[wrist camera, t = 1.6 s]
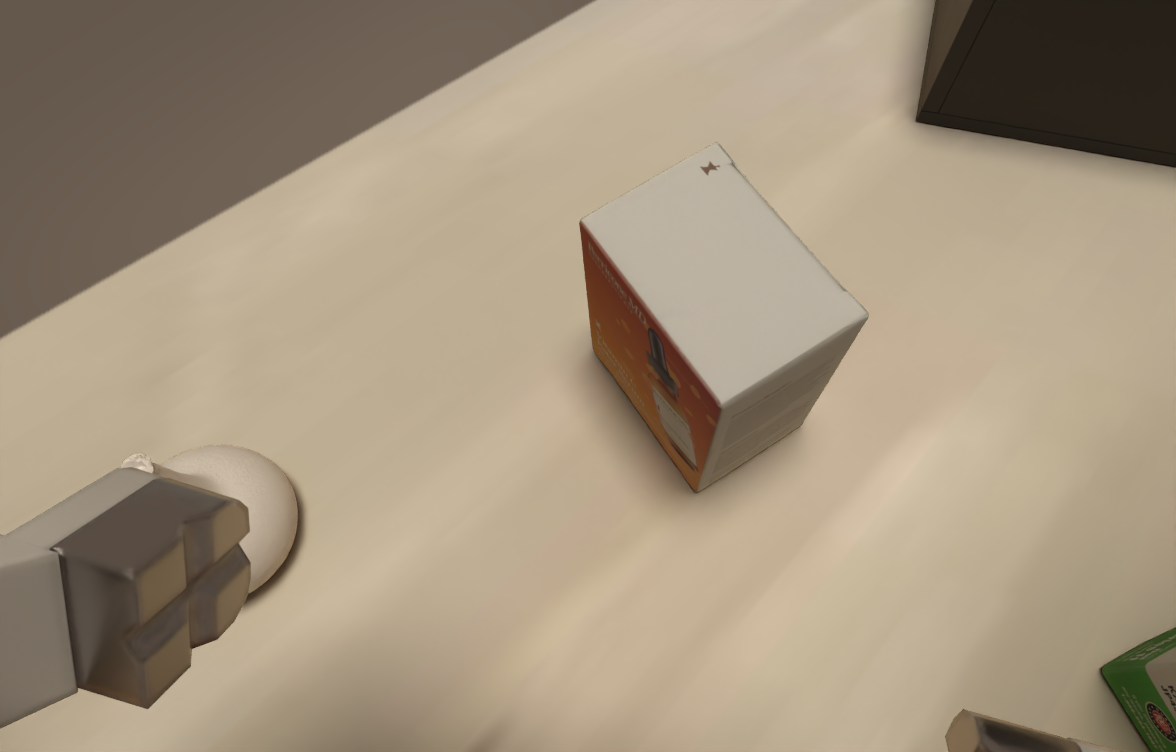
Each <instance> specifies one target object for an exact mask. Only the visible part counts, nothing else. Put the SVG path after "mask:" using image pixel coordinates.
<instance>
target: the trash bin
mask: <svg viewBox="0 0 1176 752" xmlns="http://www.w3.org/2000/svg"><path fill="white" fill-rule="evenodd" d="M916 121H918V122H923V123H929V124H935V125H941V126H946V127H952V128H958V129H964V130H969V131H975V132H981V133H986V134H992V135H998V136H1004V137H1009V138H1015V139H1021V140H1027V141H1032V142H1038V143H1044V144H1049V145H1055V146H1061V147H1067V148H1072V149H1078V150H1084V151H1090V152H1095V153H1101V154H1107V155H1112V156H1118V157H1124V158H1130V159H1135V160H1141V161H1147V162H1153V163H1158V164H1164V165H1170V166H1175V167H1176V0H936V2H935V8H934V14H933V20H932V27H931V33H930V39H929V45H928V51H927V57H926V63H925V69H924V75H923V81H922V88H921V94H920V100H919V106H918V112H917V118H916Z"/></svg>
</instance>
